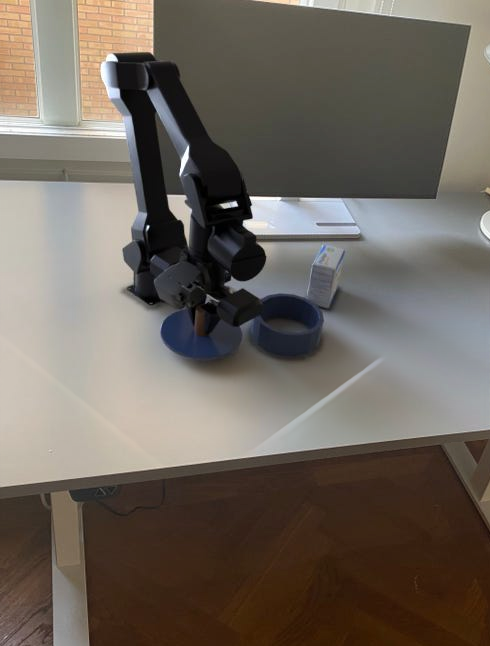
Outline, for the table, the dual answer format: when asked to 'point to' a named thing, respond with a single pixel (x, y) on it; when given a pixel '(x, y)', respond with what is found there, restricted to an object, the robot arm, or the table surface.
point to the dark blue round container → (288, 341)
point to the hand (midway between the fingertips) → (202, 329)
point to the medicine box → (325, 275)
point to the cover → (199, 336)
